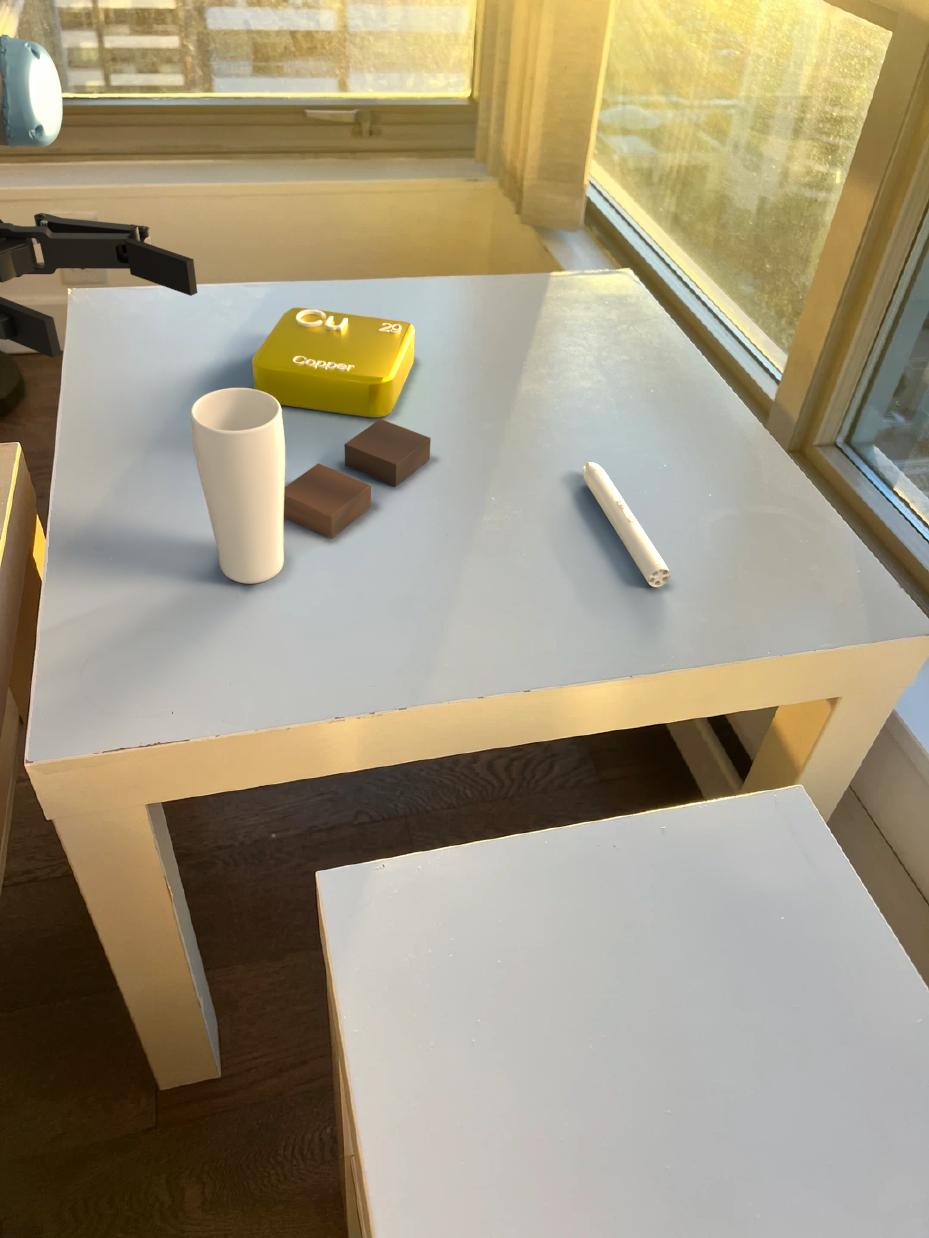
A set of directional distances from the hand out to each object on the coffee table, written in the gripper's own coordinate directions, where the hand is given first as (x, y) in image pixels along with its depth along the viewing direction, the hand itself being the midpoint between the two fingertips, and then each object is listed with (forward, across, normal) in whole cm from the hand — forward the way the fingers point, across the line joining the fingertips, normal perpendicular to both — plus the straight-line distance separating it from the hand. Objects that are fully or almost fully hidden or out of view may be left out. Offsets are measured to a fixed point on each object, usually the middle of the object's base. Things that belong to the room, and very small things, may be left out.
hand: (127, 306), depth 71 cm
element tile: (-4, -31, -20) cm, 37 cm away
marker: (+33, -24, -20) cm, 45 cm away
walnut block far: (+10, -20, -20) cm, 30 cm away
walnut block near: (+10, -10, -20) cm, 25 cm away
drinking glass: (+10, 0, -20) cm, 23 cm away
